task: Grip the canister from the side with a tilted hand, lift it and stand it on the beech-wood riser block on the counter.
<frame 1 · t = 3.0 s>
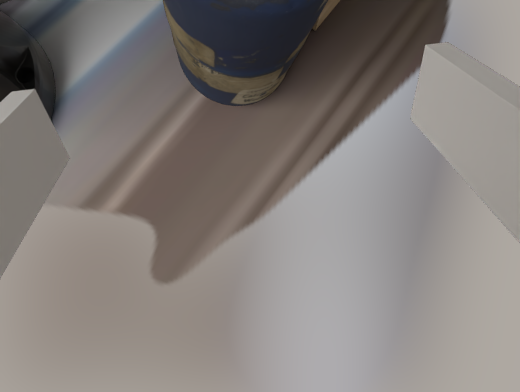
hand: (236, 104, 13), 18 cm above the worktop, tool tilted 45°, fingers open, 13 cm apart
canister: (234, 57, 31), on the worktop, touching arm
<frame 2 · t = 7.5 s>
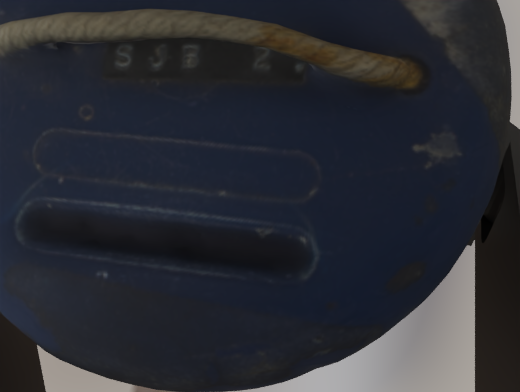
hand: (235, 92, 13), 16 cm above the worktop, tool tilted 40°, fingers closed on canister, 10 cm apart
canister: (271, 207, 22), point 7 cm above the worktop, touching gripper
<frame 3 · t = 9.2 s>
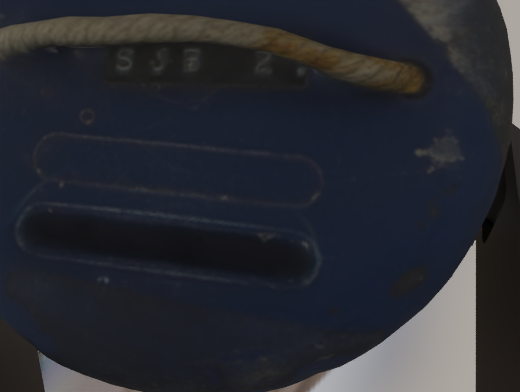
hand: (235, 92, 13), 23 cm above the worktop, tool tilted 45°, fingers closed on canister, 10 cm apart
canister: (270, 208, 22), point 14 cm above the worktop, touching gripper
when the fingers open (13 cm above the worktop, at t = 11.5 s): canister stays where it is, resting on riser.
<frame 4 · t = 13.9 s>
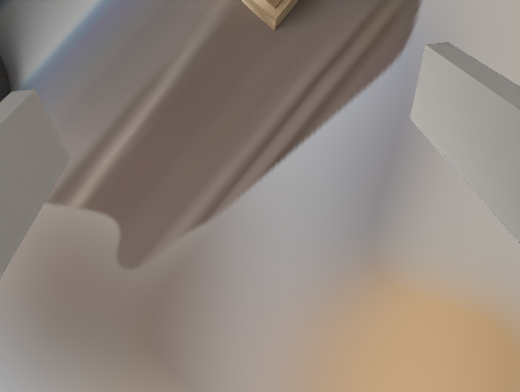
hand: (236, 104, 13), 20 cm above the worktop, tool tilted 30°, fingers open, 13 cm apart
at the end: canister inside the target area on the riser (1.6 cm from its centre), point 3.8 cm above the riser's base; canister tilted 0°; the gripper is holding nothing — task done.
